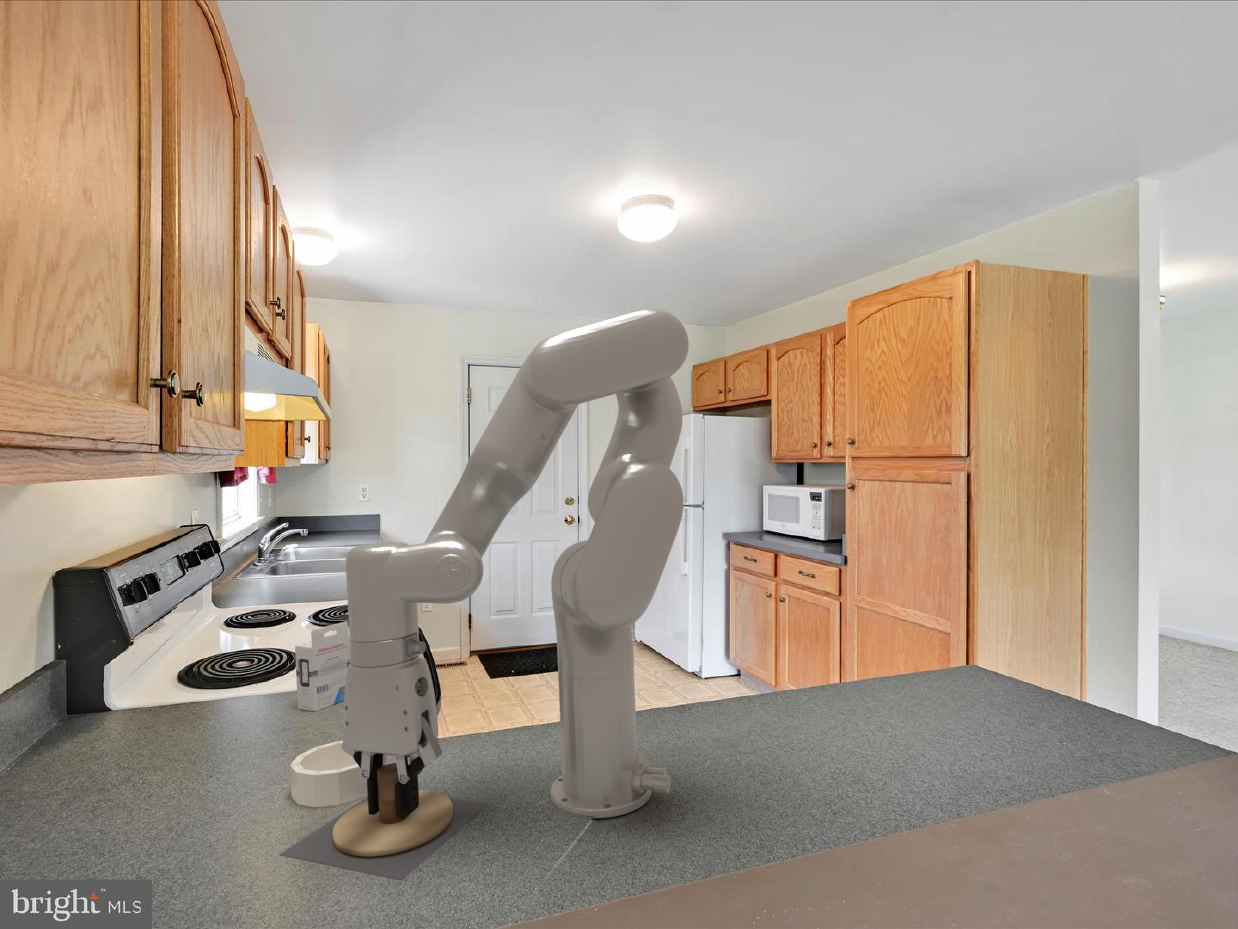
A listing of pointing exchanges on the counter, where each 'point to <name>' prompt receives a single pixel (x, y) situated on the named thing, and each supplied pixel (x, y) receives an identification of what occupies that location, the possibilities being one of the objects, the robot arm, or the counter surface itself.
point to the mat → (391, 865)
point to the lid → (391, 821)
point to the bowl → (326, 777)
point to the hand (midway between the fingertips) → (393, 809)
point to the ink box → (323, 668)
